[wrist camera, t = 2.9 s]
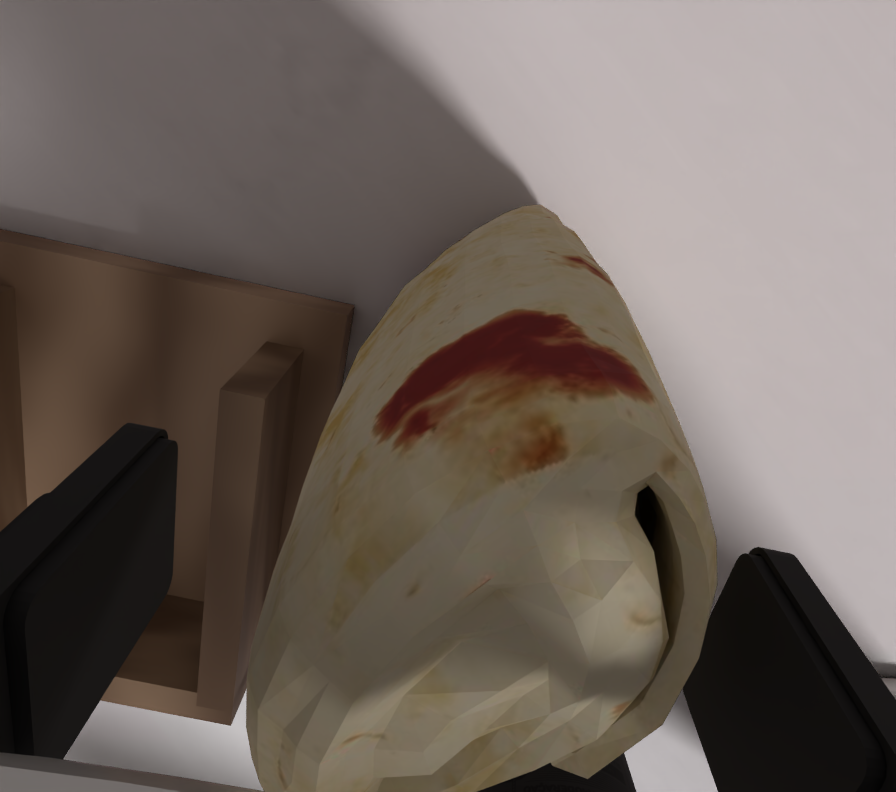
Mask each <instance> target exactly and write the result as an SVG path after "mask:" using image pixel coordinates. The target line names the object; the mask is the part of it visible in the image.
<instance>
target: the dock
mask: <svg viewBox="0 0 896 792" xmlns="http://www.w3.org/2000/svg"><path fill="white" fill-rule="evenodd" d="M353 312H354V305H351V304H346V303H342V302H337V301H332V300H328V299H323V298H318V297H314V296H309V295H304V294H300V293H295V292H291V291H286V290H281V289H277V288H272V287H267V286H263V285H258V284H253V283H249V282H244V281H240V280H235V279H230V278H226V277H221V276H216V275H212V274H207V273H202V272H198V271H193V270H188V269H184V268H179V267H175V266H170V265H165V264H161V263H156V262H151V261H147V260H142V259H137V258H133V257H128V256H123V255H119V254H114V253H110V252H105V251H100V250H96V249H91V248H86V247H82V246H77V245H72V244H68V243H63V242H59V241H54V240H49V239H45V238H40V237H35V236H31V235H26V234H21V233H17V232H12V231H7V230H3V229H0V531H1V530H3V529H4V528H5V527H6V526H7V525H8V524H9V523H10V522H11V521H13V520H14V519H15V518H16V517H17V516H18V515H19V514H20V513H21V512H22V511H24V510H25V509H26V508H27V507H28V506H29V505H30V504H31V503H32V502H34V501H35V500H36V499H37V498H39V497H40V496H42V495H43V494H45V493H50V492H51V491H52V490H53V489H55V488H56V487H57V486H58V485H59V484H60V483H61V482H62V481H63V480H64V479H65V478H67V477H68V476H69V475H70V474H71V473H72V472H73V471H74V470H75V469H76V468H77V467H79V466H80V465H81V464H82V463H83V462H84V461H85V460H86V459H87V458H88V457H89V456H91V455H92V454H93V453H94V452H95V451H96V450H97V449H98V448H99V447H100V446H101V445H103V444H104V443H105V442H106V441H107V440H108V439H109V438H110V437H111V436H112V435H113V434H115V433H116V432H117V431H118V430H119V429H120V428H121V427H122V426H123V425H125V424H126V423H135V424H140V425H145V426H150V427H155V428H160V429H165V430H166V431H167V434H168V439H169V440H174V441H176V442H177V444H178V465H177V489H176V512H175V536H174V560H173V576H172V581H171V584H170V587H169V590H168V592H167V594H166V596H165V598H164V600H163V601H162V603H161V604H160V606H159V607H158V609H157V611H156V612H155V614H154V615H153V617H152V619H151V620H150V622H149V623H148V625H147V627H146V628H145V630H144V631H143V633H142V634H141V636H140V638H139V639H138V641H137V642H136V644H135V646H134V647H133V649H132V650H131V652H130V654H129V655H128V657H127V658H126V660H125V661H124V663H123V665H122V666H121V668H120V669H119V671H118V673H117V674H116V676H115V677H114V679H113V681H112V682H111V684H110V685H109V687H108V689H107V690H106V692H105V693H104V695H103V696H102V698H101V700H102V701H107V702H112V703H117V704H122V705H127V706H132V707H137V708H143V709H148V710H153V711H158V712H163V713H168V714H173V715H179V716H184V717H189V718H194V719H199V720H204V721H209V722H214V723H220V724H225V725H230V726H231V724H232V722H233V719H234V717H235V714H236V712H237V710H238V707H239V705H240V703H241V700H242V698H243V695H244V693H245V691H246V688H247V673H248V666H249V660H250V653H251V646H252V643H253V639H254V636H255V632H256V629H257V625H258V622H259V618H260V615H261V611H262V608H263V604H264V601H265V598H266V594H267V591H268V588H269V584H270V581H271V578H272V574H273V571H274V567H275V564H276V562H277V559H278V557H279V554H280V552H281V549H282V547H283V544H284V542H285V539H286V536H287V534H288V531H289V529H290V526H291V523H292V520H293V517H294V513H295V510H296V507H297V503H298V500H299V497H300V493H301V490H302V487H303V484H304V482H305V479H306V476H307V473H308V470H309V467H310V465H311V462H312V459H313V456H314V453H315V451H316V448H317V445H318V442H319V439H320V436H321V434H322V432H323V429H324V427H325V425H326V422H327V420H328V418H329V415H330V413H331V411H332V409H333V407H334V405H335V402H336V400H337V398H338V396H339V394H340V392H341V390H342V383H343V377H344V370H345V364H346V357H347V351H348V344H349V338H350V331H351V325H352V318H353Z"/></svg>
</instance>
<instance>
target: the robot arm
mask: <svg viewBox="0 0 896 792" xmlns="http://www.w3.org/2000/svg"><path fill="white" fill-rule="evenodd" d="M177 465H178V444H177V442H176V441H174V440H169V439H168V434H167V431H166V430H165V429H160V428H155V427H150V426H145V425H140V424H135V423H126V424H125V425H123V426H122V427H121V428H120V429H119V430H118V431H117V432H116V433H115V434H113V435H112V436H111V437H110V438H109V439H108V440H107V441H106V442H105V443H104V444H103V445H101V446H100V447H99V448H98V449H97V450H96V451H95V452H94V453H93V454H92V455H91V456H89V457H88V458H87V459H86V460H85V461H84V462H83V463H82V464H81V465H80V466H79V467H77V468H76V469H75V470H74V471H73V472H72V473H71V474H70V475H69V476H68V477H67V478H65V479H64V480H63V481H62V482H61V483H60V484H59V485H58V486H57V487H56V488H55V489H53V490H52V491H51V492H50V493H45V494H43V495H42V496H40V497H39V498H37V499H36V500H35V501H34V502H32V503H31V504H30V505H29V506H28V507H27V508H26V509H25V510H24V511H22V512H21V513H20V514H19V515H18V516H17V517H16V518H15V519H14V520H13V521H11V522H10V523H9V524H8V525H7V526H6V527H5V528H4V529H3V530H1V531H0V792H265V791H259V790H253V789H247V788H241V787H235V786H229V785H223V784H217V783H211V782H205V781H200V780H194V779H188V778H182V777H176V776H169V775H162V774H156V773H149V772H142V771H136V770H129V769H122V768H116V767H109V766H102V765H96V764H89V763H82V762H76V761H69V760H63V758H64V757H65V755H66V754H67V752H68V750H69V749H70V747H71V746H72V744H73V743H74V741H75V739H76V738H77V736H78V735H79V733H80V731H81V730H82V728H83V727H84V725H85V723H86V722H87V720H88V719H89V717H90V716H91V714H92V712H93V711H94V709H95V708H96V706H97V704H98V703H99V701H100V700H101V698H102V696H103V695H104V693H105V692H106V690H107V689H108V687H109V685H110V684H111V682H112V681H113V679H114V677H115V676H116V674H117V673H118V671H119V669H120V668H121V666H122V665H123V663H124V661H125V660H126V658H127V657H128V655H129V654H130V652H131V650H132V649H133V647H134V646H135V644H136V642H137V641H138V639H139V638H140V636H141V634H142V633H143V631H144V630H145V628H146V627H147V625H148V623H149V622H150V620H151V619H152V617H153V615H154V614H155V612H156V611H157V609H158V607H159V606H160V604H161V603H162V601H163V600H164V598H165V596H166V594H167V592H168V590H169V587H170V584H171V581H172V576H173V560H174V536H175V512H176V489H177ZM683 692H684V695H685V698H686V701H687V704H688V707H689V710H690V712H691V715H692V718H693V721H694V724H695V727H696V730H697V732H698V735H699V738H700V741H701V744H702V747H703V750H704V753H705V755H706V758H707V761H708V764H709V767H710V770H711V773H712V775H713V778H714V781H715V784H716V787H717V790H718V792H896V679H893V678H881V677H880V676H879V675H878V673H877V672H876V670H875V669H874V667H873V666H872V665H871V663H870V662H869V660H868V659H867V657H866V656H865V655H864V653H863V652H862V650H861V649H860V647H859V646H858V645H857V643H856V642H855V640H854V639H853V637H852V636H851V635H850V633H849V632H848V630H847V629H846V627H845V626H844V625H843V623H842V622H841V620H840V619H839V617H838V616H837V615H836V613H835V612H834V610H833V609H832V607H831V606H830V605H829V603H828V602H827V600H826V599H825V597H824V596H823V595H822V593H821V592H820V590H819V589H818V587H817V586H816V585H815V583H814V582H813V580H812V579H811V577H810V576H809V575H808V573H807V572H806V570H805V569H804V567H803V566H802V565H801V563H800V562H799V560H798V559H797V558H796V557H795V556H794V555H792V554H790V553H785V552H780V551H775V550H770V549H765V548H760V547H757V548H754V549H752V550H751V551H750V552H749V554H742V555H741V556H740V557H739V558H738V559H737V561H736V563H735V565H734V567H733V569H732V572H731V574H730V576H729V578H728V580H727V582H726V584H725V586H724V588H723V590H722V592H721V595H720V597H719V599H718V601H717V603H716V605H715V607H714V609H713V611H712V613H711V615H710V617H709V620H708V624H707V628H706V632H705V636H704V640H703V644H702V648H701V652H700V656H699V659H698V661H697V663H696V665H695V666H694V668H693V670H692V672H691V674H690V676H689V677H688V679H687V681H686V683H685V685H684V686H683Z"/></svg>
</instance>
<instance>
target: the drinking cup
mask: <svg viewBox="0 0 896 792" xmlns="http://www.w3.org/2000/svg"><path fill="white" fill-rule="evenodd" d="M477 792H636V789H635V786H634V783H633V780H632V777H631V774H630V770H629V767H628V764H627V761H626V758H625V755H624V753H623V754H621V755H620V756H619V757H617V758H616V759H614V760H613V761H612V762H610V763H609V764H608V765H606V766H605V767H603V768H602V769H601V770H599V771H598V772H596V773H595V774H594V775H592V776H591V777H590V778H588V779H586V778H584V777H581V776H578V775H576V774H573V773H570V772H568V771H565V770H562V769H560V768H557V767H554V766H552V764H551V763H548V764H546V765H544V766H542V767H540V768H538V769H536V770H534V771H531V772H528V773H526V774H523V775H520V776H518V777H515V778H512V779H509V780H507V781H504V782H501V783H499V784H496V785H493V786H490V787H488V788H485V789H482V790H480V791H477Z"/></svg>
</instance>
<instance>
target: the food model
mask: <svg viewBox="0 0 896 792" xmlns="http://www.w3.org/2000/svg"><path fill="white" fill-rule="evenodd" d="M716 587H717V550H716V536H715V532H714V528H713V524H712V521H711V517H710V513H709V509H708V505H707V501H706V497H705V493H704V489H703V486H702V483H701V480H700V477H699V474H698V471H697V468H696V465H695V462H694V459H693V457H692V454H691V451H690V448H689V446H688V443H687V441H686V438H685V436H684V433H683V431H682V428H681V426H680V423H679V421H678V418H677V416H676V414H675V411H674V409H673V407H672V404H671V402H670V400H669V397H668V395H667V393H666V390H665V388H664V386H663V383H662V381H661V379H660V376H659V374H658V372H657V370H656V367H655V365H654V363H653V360H652V358H651V356H650V353H649V351H648V349H647V347H646V345H645V343H644V341H643V339H642V337H641V335H640V333H639V331H638V329H637V327H636V325H635V323H634V321H633V319H632V317H631V314H630V312H629V310H628V308H627V306H626V304H625V302H624V300H623V299H622V297H621V295H620V294H619V292H618V290H617V289H616V287H615V286H614V284H613V282H612V281H611V279H610V277H609V276H608V274H607V273H606V272H605V271H604V270H603V269H602V268H601V267H600V266H599V265H598V264H597V263H596V261H595V260H594V258H593V257H592V255H591V254H590V252H589V251H588V249H587V248H586V247H585V245H584V244H583V242H582V241H581V239H580V238H579V237H578V236H577V234H576V233H575V232H574V231H573V230H571V229H569V228H568V227H566V226H564V225H563V224H562V222H561V221H560V219H559V218H558V216H557V215H556V214H554V213H553V212H551V211H550V210H548V209H547V208H545V207H543V206H542V205H530V206H522V207H520V208H517V209H514V210H512V211H509V212H506V213H504V214H502V215H500V216H499V217H497V218H495V219H493V220H492V221H490V222H488V223H486V224H484V225H483V226H481V227H479V228H477V229H476V230H474V231H473V232H471V233H470V234H468V235H467V236H465V237H464V238H463V239H461V240H460V241H458V242H457V243H455V244H454V245H452V246H451V247H450V248H448V249H447V250H445V251H444V252H443V253H442V254H441V255H440V256H439V257H438V258H437V259H436V260H435V261H433V262H432V263H431V264H430V265H429V266H428V267H427V268H426V269H425V270H424V271H422V272H421V273H420V274H419V275H417V276H416V277H415V278H414V279H413V280H411V281H410V282H409V283H408V284H406V285H405V286H404V287H403V289H402V290H401V292H400V293H399V295H398V296H397V298H396V299H395V300H394V302H393V303H392V305H391V306H390V308H389V309H388V310H387V312H386V313H385V315H384V316H383V318H382V319H381V321H380V322H379V323H378V325H377V326H376V328H375V329H374V330H373V332H372V333H371V334H370V336H369V337H368V338H367V340H366V341H365V342H364V344H363V345H362V346H361V348H360V349H359V352H358V354H357V356H356V358H355V360H354V362H353V365H352V367H351V369H350V371H349V374H348V376H347V378H346V381H345V383H344V385H343V388H342V390H341V392H340V394H339V396H338V398H337V400H336V402H335V405H334V407H333V409H332V411H331V413H330V415H329V418H328V420H327V422H326V425H325V427H324V429H323V432H322V434H321V436H320V439H319V442H318V445H317V448H316V451H315V453H314V456H313V459H312V462H311V465H310V467H309V470H308V473H307V476H306V479H305V482H304V484H303V487H302V490H301V493H300V497H299V500H298V503H297V507H296V510H295V513H294V517H293V520H292V523H291V526H290V529H289V531H288V534H287V536H286V539H285V542H284V544H283V547H282V549H281V552H280V554H279V557H278V559H277V562H276V564H275V567H274V571H273V574H272V578H271V581H270V584H269V588H268V591H267V594H266V598H265V601H264V604H263V608H262V611H261V615H260V618H259V622H258V625H257V629H256V632H255V636H254V639H253V643H252V646H251V653H250V660H249V666H248V673H247V706H246V728H247V734H248V739H249V745H250V750H251V756H252V760H253V763H254V766H255V769H256V772H257V776H258V779H259V782H260V784H261V786H262V788H263V790H264V791H265V792H477V791H480V790H482V789H485V788H488V787H490V786H493V785H496V784H499V783H501V782H504V781H507V780H509V779H512V778H515V777H518V776H520V775H523V774H526V773H528V772H531V771H534V770H536V769H538V768H540V767H542V766H544V765H546V764H548V763H551V764H552V766H554V767H557V768H560V769H562V770H565V771H568V772H570V773H573V774H576V775H578V776H581V777H584V778H586V779H588V778H590V777H591V776H592V775H594V774H595V773H596V772H598V771H599V770H601V769H602V768H603V767H605V766H606V765H608V764H609V763H610V762H612V761H613V760H614V759H616V758H617V757H619V756H620V755H621V754H623V753H624V752H625V751H627V750H628V749H630V748H631V747H632V746H634V745H635V744H636V743H638V742H639V741H641V740H642V739H643V738H645V737H646V736H648V735H649V734H650V733H652V732H653V731H654V730H656V729H657V728H659V727H660V726H661V725H663V723H664V721H665V719H666V717H667V716H668V714H669V712H670V710H671V708H672V706H673V705H674V703H675V701H676V699H677V697H678V696H679V694H680V692H681V690H682V688H683V686H684V685H685V683H686V681H687V679H688V677H689V676H690V674H691V672H692V670H693V668H694V666H695V665H696V663H697V661H698V659H699V656H700V652H701V648H702V644H703V640H704V636H705V632H706V628H707V624H708V620H709V616H710V612H711V608H712V604H713V600H714V595H715V591H716Z"/></svg>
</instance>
